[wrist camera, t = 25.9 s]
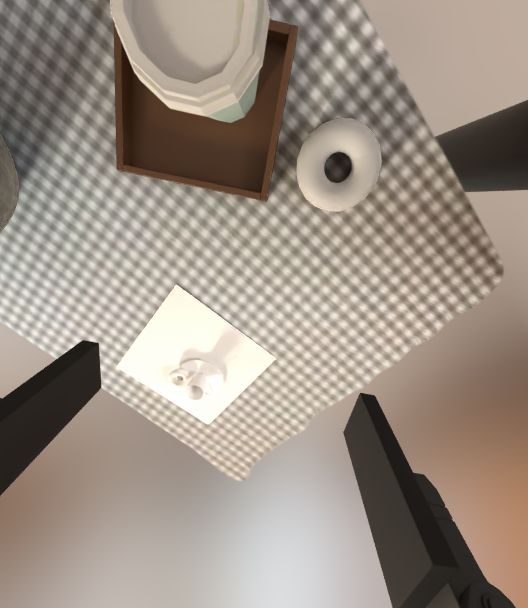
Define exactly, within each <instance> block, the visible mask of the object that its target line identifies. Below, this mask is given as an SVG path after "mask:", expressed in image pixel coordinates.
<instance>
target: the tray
mask: <svg viewBox="0 0 528 608" xmlns="http://www.w3.org/2000/svg"><path fill="white" fill-rule="evenodd" d="M297 31H298V26H295V25H290V24H286V23H282V22H277V21H273V20H269V26H268V33H267V39H266V46H265V52H264V59H263V65H262V67H261V69H260V70H259V76H258V83H257V90H256V96H255V103H254V104H253V106H252V107H251V109H250V110H249V111H248V113H247V114H246V116H245V117H243V118H241V119H239V120H236V121H234V122H232V123H228V122H224V121H219V120H215V119H212V118H209V117H206V116H201V115H197V114H192V113H188V112H183V111H179V110H174V109H170V108H169V107H168V106H167V105H166V104H165V103H164V102H162V101H161V100H160V99H159V98H158V97H157V96H156V95H155V94H154V93H153V92H152V91H151V90H150V89H149V88H148V87H147V86H146V85H145V84H144V83H142V82H141V81H140V80H139V78H138V76H137V75H136V74H135V73H134V70H133V68H132V66H131V63H130V61H129V58H128V56H127V54H126V51H125V49H124V46H123V44H122V42H121V39H120V37H119V34H118V32H117V30H116V27H115V23H114V58H115V107H116V155H117V170H118V171H123V172H127V173H132V174H137V175H142V176H147V177H152V178H156V179H161V180H166V181H171V182H176V183H180V184H185V185H190V186H195V187H200V188H205V189H209V190H214V191H219V192H224V193H229V194H234V195H238V196H243V197H248V198H253V199H258V200H262V201H267V199H268V193H269V188H270V182H271V177H272V172H273V166H274V161H275V155H276V150H277V144H278V139H279V133H280V128H281V122H282V117H283V111H284V106H285V100H286V95H287V90H288V84H289V79H290V73H291V68H292V62H293V57H294V51H295V46H296V40H297Z"/></svg>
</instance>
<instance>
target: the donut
mask: <svg viewBox="0 0 528 608" xmlns="http://www.w3.org/2000/svg"><path fill="white" fill-rule="evenodd" d="M336 152H343V153H345V154H346V155H347V156H348V157H349V158H350V160H351V164H352V168H351V172H350V175H349V176H348V178H347V179H346V180H344V181H343V182H340V183H333V182H331V181H329V180H328V179H327V177H326V175H325V172H324V165H325V162H326V160H327V159H328V157H329V156H330V155H332V154H333V153H336ZM381 164H382V157H381V148H380V145H379V143H378V140H377V138H376V136H375V134H374V133H373V132H372V131H371V130H370V129H369V128H368V127H367V126H366V125H365V124H364V123H362V122H359V121H357V120H355V119H352V118H337V119H334V120H331V121H328V122H325V123H323V124H322V125H320V126H319V127H318V128H316V129H315V130H314V131H313V132H311V134H310V135H309V136H308V138H307V139H306V141H305V142H304V143H303V145H302V147H301V150H300V153H299V156H298V158H297V170H296V175H297V179H298V184H299V188H300V189H301V191H302V193H303V195H304V196H305V198H306V199H307V200H308V201H309V202H310V203H312V204H313V205H314V206H315V207H317V208H320V209H322V210H325V211H337V212H339V211H342V210H346V209H349V208H352V207H354V206H355V205H357V204H358V203H360V202H361V201H363V200H364V199H365V198H366V197H367V195H368V194H369V193H370V192H371V191H372V190H373V188H374V186H375V184H376V182H377V180H378V178H379V175H380V169H381Z"/></svg>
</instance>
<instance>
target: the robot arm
mask: <svg viewBox="0 0 528 608" xmlns="http://www.w3.org/2000/svg"><path fill="white" fill-rule="evenodd" d="M100 388H101V374H100V356H99V343H95V342H90V341H85V340H83V341H81V342H80V343H79V344H77V345H76V346H74V347H73V348H72V349H70V350H69V351H68V352H66V353H65V354H63V355H62V356H61V357H59V358H58V359H56V360H55V361H54V362H52V363H51V364H50V365H48V366H47V367H45V368H44V369H43V370H41V371H40V372H39V373H37V374H36V375H34V376H33V377H32V378H30V379H29V380H28V381H26V382H25V383H23V384H22V385H21V386H19V387H18V388H17V389H15V390H14V391H12V392H11V393H10V394H8V395H7V396H5V397H4V398H3V399H2V398H0V495H1V494H2V493H3V492H4V491H5V490H6V489H7V488H8V487H9V486H10V485H11V484H12V483H13V482H14V480H15V479H16V478H17V477H18V476H19V475H20V474H21V473H22V472H23V471H24V470H25V469H26V468H27V467H28V466H29V464H30V463H31V462H32V461H33V460H34V459H35V458H36V457H37V456H38V455H39V454H40V453H41V452H42V451H43V449H44V448H45V447H46V446H47V445H48V444H49V443H50V442H51V441H52V440H53V439H54V438H55V437H56V436H57V435H58V433H59V432H60V431H61V430H62V429H63V428H64V427H65V426H66V425H67V424H68V423H69V422H70V421H71V420H72V418H73V417H74V416H75V415H76V414H77V413H78V412H79V411H80V410H81V409H82V408H83V407H84V406H85V405H86V404H87V402H88V401H89V400H90V399H91V398H92V397H93V396H94V395H95V394H96V393H97V392H98V391H99V389H100ZM344 436H345V440H346V444H347V447H348V451H349V454H350V458H351V461H352V465H353V468H354V472H355V476H356V479H357V482H358V486H359V490H360V493H361V496H362V500H363V504H364V507H365V511H366V515H367V518H368V521H369V525H370V529H371V532H372V536H373V539H374V543H375V547H376V550H377V554H378V557H379V561H380V564H381V568H382V571H383V575H384V579H385V582H386V585H387V589H388V593H389V596H390V600H391V603H392V607H393V608H515V606H514V605H513V603H512V602H511V601H510V600H509V599H508V598H507V597H506V596H505V595H504V594H503V593H502V592H501V591H500V590H499V589H497V588H496V587H494V586H493V585H491V584H490V583H488V581H487V580H486V578H485V577H484V575H483V573H482V571H481V570H480V568H479V566H478V564H477V562H476V561H475V559H474V557H473V555H472V553H471V552H470V550H469V548H468V546H467V544H466V543H465V540H464V539H463V537H462V535H461V533H460V531H459V530H458V528H457V526H456V524H455V522H453V520H452V517H451V515H450V513H449V511H448V509H447V508H445V504H444V502H443V500H442V499H441V497H440V495H439V493H438V491H437V489H436V488H435V487H434V486H433V485H432V483H431V482H430V481H429V480H428V479H427V478H426V476H425V475H423V474H417V473H413V472H412V470H411V468H410V466H409V463H408V461H407V459H406V457H405V455H404V453H403V451H402V449H401V447H400V445H399V443H398V441H397V439H396V437H395V435H394V433H393V431H392V429H391V427H390V425H389V423H388V421H387V419H386V417H385V415H384V413H383V411H382V409H381V407H380V405H379V403H378V401H377V399H376V397H375V396H374V395H368V394H364V393H360V394H359V397H358V399H357V401H356V404H355V406H354V409H353V411H352V413H351V416H350V418H349V420H348V423H347V425H346V428H345V430H344Z"/></svg>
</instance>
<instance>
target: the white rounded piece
mask: <svg viewBox="0 0 528 608" xmlns="http://www.w3.org/2000/svg"><path fill="white" fill-rule="evenodd" d="M167 380H168V382H169V383H170V384H171V385H172V386H173V387H175V388H181V389H182V390H183V391H184V395H185V396H186V397H187V398H188V399H189V400H191V401H200V400H202V399H203V398H209V397H212V396H214V395H216V394H217V393H218V392H219V391H220V390H221V389H222V387H223V384H224V378H223V374H222V372H221V371H220V369H219V368H218V367H217V366H216V365H214V364H213V363H212V362H210V361H207V360H204V359H190V360H188V361H186V362H184V363H183V364H182V365H181V366H180V367H177V368H174V369H172V370H171V371H170V372H169V373H168V376H167Z"/></svg>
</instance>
